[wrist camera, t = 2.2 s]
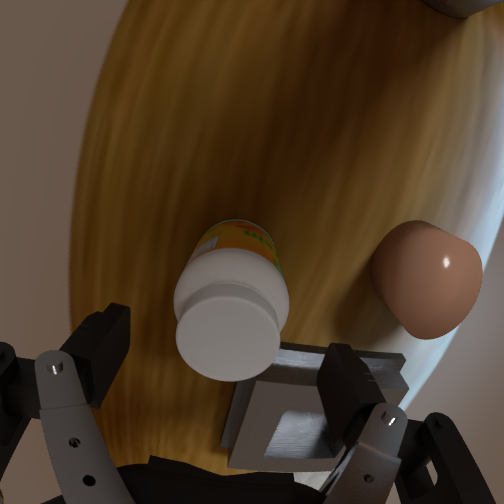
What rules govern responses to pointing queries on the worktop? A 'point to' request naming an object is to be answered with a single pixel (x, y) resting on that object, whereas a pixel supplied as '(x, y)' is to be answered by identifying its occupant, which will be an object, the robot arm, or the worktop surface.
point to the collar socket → (294, 411)
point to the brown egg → (426, 278)
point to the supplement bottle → (231, 303)
